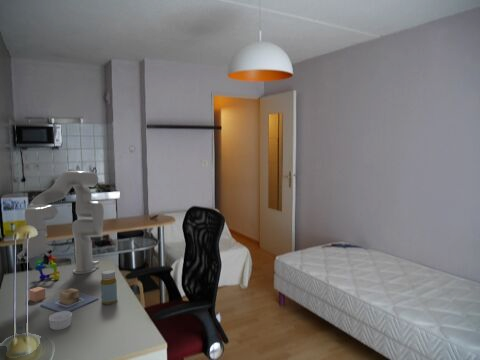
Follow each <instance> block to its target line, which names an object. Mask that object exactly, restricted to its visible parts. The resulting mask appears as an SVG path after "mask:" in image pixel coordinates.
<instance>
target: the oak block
mask: <svg viewBox="0 0 480 360" xmlns="http://www.w3.org/2000/svg"><path fill="white" fill-rule="evenodd" d="M79 293H80V291H79V290H78V289H76V288H72V287H70V288H68V289H64V290H62V291H60V292H59V297H60V302H61V303H63V304H66V305H69V304H72V303H74V302H77V301H79Z"/></svg>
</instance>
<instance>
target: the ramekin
mask: <svg viewBox="0 0 480 360" xmlns="http://www.w3.org/2000/svg"><path fill="white" fill-rule="evenodd" d="M72 317H73V313H72V311H71V312H69V311H61V312H54V313H53V314H51V315H49V317H48V321H49V327H50V329H51V330H54V331H59V330H60V331H61V330H64V329H66V328H69V327H70V326H71V325H72V320H73V319H72Z"/></svg>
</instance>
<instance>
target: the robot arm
mask: <svg viewBox="0 0 480 360" xmlns="http://www.w3.org/2000/svg"><path fill="white" fill-rule="evenodd" d="M98 183H99V177H98V175H97V173H95V172H92V171H83V170H82V171H81V170H67V171H63V172H62V173H61V174H60V175H59V176H58V178H56V181H55V182H54V183H53V185H52V186H51V187H50V188H49V189H47V190H45V191H43V192H41V193H39V194H38V195H36V196H35V197H34V198H33V199H32V200H31V202H30V203H28V206H27V208H25V209H24V222H25V225H31V226H34V227H35V228H36V229H37V231H38V235H37V236H36V237H33V238H30V239H29V246H28V271H30V262H29V260H30V259H31V258H35V257H38V256H42V255H43V257H42V260H44V264H43V265H46V266H49V265H50V262H49V256H50V254H51V253H52V252H53V248H54V245H49V244H48V241H47V236H46V234H45V232H46V228H44V221H50V220H54V218H56V217H57V215H58V207H56V206H55V205H53V204H50V203H53V202H57V201H61V200H63V199H65V197H66V196H67V195H68V193H69V192H70V191H71V189H72V188H73V189H74V192H75V214H76V216H78V217H80V219H76V220H74V221H73V222H72V224H71V230H72V231H71V232H72V234H73V238H74V239H73V240H74V255H75V256H74V257H75V258H74V259H75V261H74V262H75V268H74V269H73V270H72V273H73V274H76V275H85V274H90V273H92V272H93V273H94V272H95V271H96V270H97V269H96V265H99V264H100V260H96V261H94V259H93V242H92V238H91V237H92V236H99V235H101V234H102V233H103V230H104V229H103V228H104V212H105V211H104V205H103V203H101V202H100V201H96V200H95V201H94V200H93V201H92V191H91V189H90V188H92V187H95V186H97V185H98ZM87 218H90V219H87ZM91 218H92V219H91ZM90 236H91V237H90ZM51 255H52V254H51ZM16 256H17V258H18V259H19V261H21V263H23V269H24V270H25V271H27V239H24V238H23V242H22V250H21V251H20V252H19V253H18V254H16Z"/></svg>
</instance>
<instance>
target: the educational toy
mask: <svg viewBox="0 0 480 360" xmlns="http://www.w3.org/2000/svg"><path fill="white" fill-rule="evenodd" d="M57 260H58V259H57V257H55V256H52V254H50V256H49V263H50V264H49V265H45V264H44V260H43V259H42V260H38V261H36V263H35V264H36V266H35V270H36V271H38V272H39V275H40V276H39V280H41V281H43V280H45V279H54V280H55V281H58V280H59V279H60V271H59V270H58V268H57V266H58V265H57ZM47 268H50V269H53V272H52V273H49V274H44V273H43V269H47Z"/></svg>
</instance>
